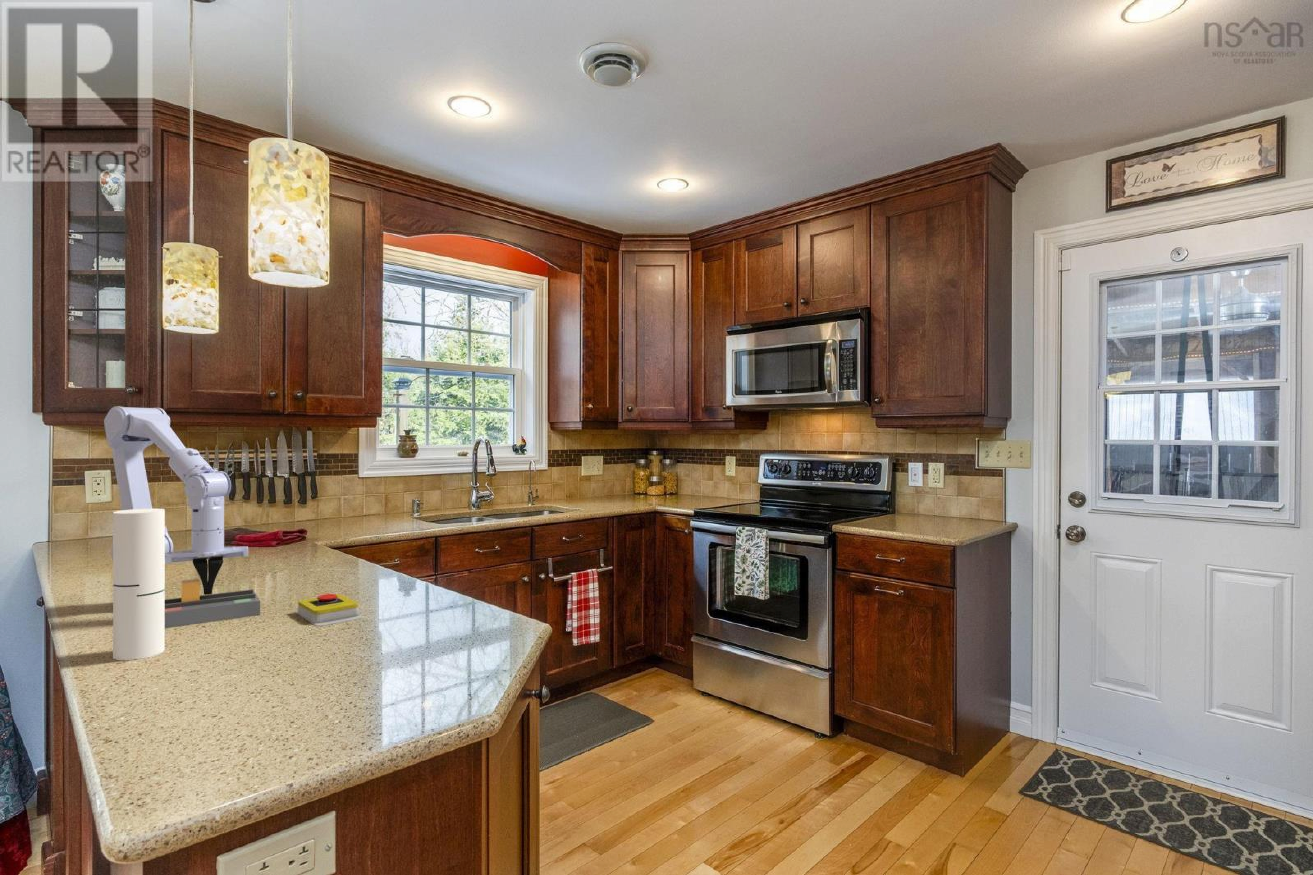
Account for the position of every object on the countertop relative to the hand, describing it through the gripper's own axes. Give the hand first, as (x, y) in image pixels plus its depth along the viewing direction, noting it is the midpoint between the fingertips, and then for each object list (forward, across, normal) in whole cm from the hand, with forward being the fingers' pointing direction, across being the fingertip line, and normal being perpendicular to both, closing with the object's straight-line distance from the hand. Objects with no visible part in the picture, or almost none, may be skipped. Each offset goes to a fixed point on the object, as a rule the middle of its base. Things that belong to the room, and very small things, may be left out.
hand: (207, 593), depth 141 cm
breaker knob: (+1, -3, 0) cm, 3 cm away
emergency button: (+5, +21, -14) cm, 26 cm away
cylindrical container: (+5, -11, -22) cm, 25 cm away
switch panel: (+5, 0, 0) cm, 5 cm away
